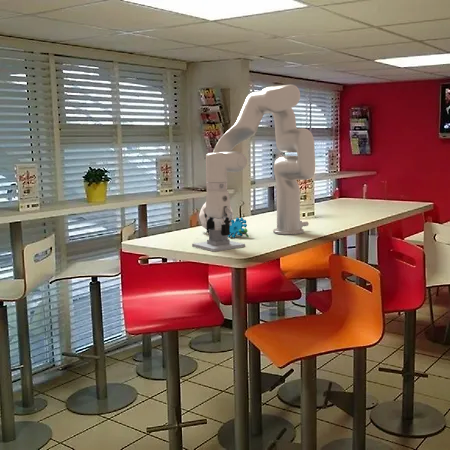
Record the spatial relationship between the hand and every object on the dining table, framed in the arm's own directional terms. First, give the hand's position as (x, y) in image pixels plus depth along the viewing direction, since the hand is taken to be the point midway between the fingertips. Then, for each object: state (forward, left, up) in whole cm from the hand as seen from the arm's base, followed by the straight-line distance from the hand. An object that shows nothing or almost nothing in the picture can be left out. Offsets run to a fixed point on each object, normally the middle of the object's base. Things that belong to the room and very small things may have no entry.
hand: (218, 233), depth 217 cm
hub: (0, 0, -2) cm, 2 cm away
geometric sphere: (-19, -29, -5) cm, 35 cm away
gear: (-18, -13, -5) cm, 23 cm away
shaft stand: (0, 0, -5) cm, 5 cm away
